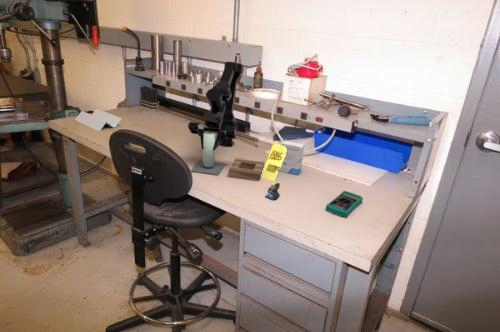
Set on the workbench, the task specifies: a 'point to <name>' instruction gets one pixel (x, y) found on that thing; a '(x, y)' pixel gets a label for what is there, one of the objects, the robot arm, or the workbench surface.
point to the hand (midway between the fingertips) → (208, 149)
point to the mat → (208, 168)
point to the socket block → (246, 169)
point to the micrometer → (273, 192)
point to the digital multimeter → (344, 203)
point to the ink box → (293, 158)
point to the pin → (208, 149)
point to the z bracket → (98, 119)
